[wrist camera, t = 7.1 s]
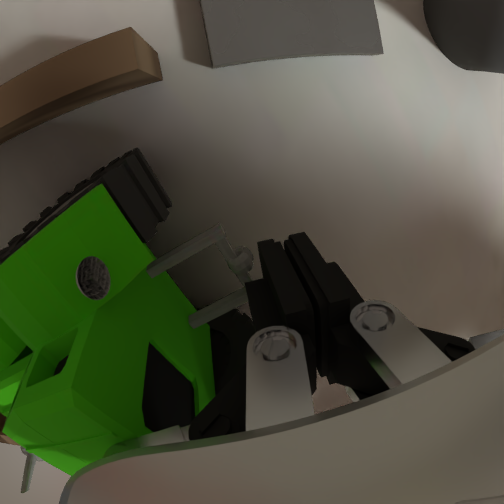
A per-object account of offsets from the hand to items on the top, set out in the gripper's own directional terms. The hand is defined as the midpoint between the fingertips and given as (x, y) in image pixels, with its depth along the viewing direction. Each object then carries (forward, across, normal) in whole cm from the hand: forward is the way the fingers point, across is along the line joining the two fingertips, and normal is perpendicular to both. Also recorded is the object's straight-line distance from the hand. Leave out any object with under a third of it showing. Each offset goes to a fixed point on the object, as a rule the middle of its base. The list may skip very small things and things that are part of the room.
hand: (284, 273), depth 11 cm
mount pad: (+4, -2, -11) cm, 12 cm away
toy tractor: (+4, +9, +2) cm, 10 cm away
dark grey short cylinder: (+4, -12, -10) cm, 16 cm away
